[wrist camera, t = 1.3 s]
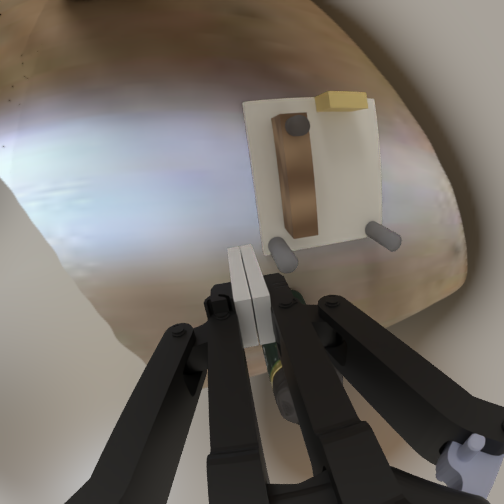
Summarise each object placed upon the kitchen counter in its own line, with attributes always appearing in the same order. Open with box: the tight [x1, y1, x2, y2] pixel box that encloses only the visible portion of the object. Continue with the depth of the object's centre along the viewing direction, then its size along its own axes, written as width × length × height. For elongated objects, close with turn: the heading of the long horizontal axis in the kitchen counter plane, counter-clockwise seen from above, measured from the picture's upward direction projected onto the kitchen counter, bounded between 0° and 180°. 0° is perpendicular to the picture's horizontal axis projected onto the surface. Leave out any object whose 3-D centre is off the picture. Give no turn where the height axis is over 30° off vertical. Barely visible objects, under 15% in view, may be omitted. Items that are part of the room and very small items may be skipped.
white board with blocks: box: [242, 91, 401, 273], centre depth 31 cm, size 20×18×8 cm
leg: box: [271, 112, 318, 239], centre depth 30 cm, size 14×3×6 cm, turn 8°
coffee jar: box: [262, 290, 343, 425], centre depth 34 cm, size 10×8×19 cm
